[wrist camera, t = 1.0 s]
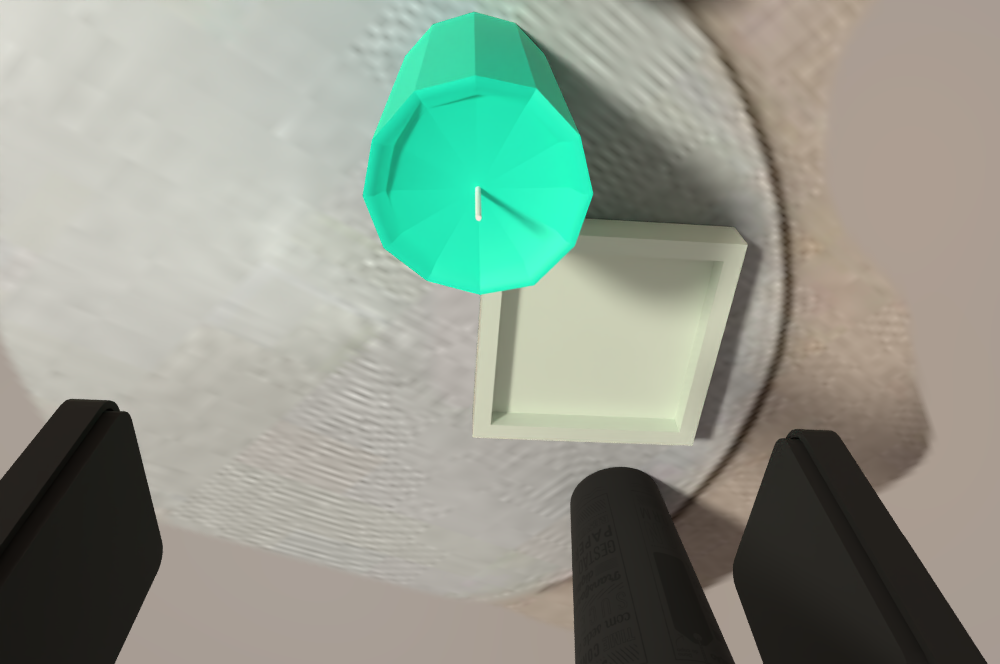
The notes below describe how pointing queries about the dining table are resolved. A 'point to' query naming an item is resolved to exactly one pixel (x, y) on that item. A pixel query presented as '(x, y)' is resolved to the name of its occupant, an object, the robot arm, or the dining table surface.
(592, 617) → the drinking cup
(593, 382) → the tray
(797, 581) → the robot arm
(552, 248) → the candle
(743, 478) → the dining table surface
